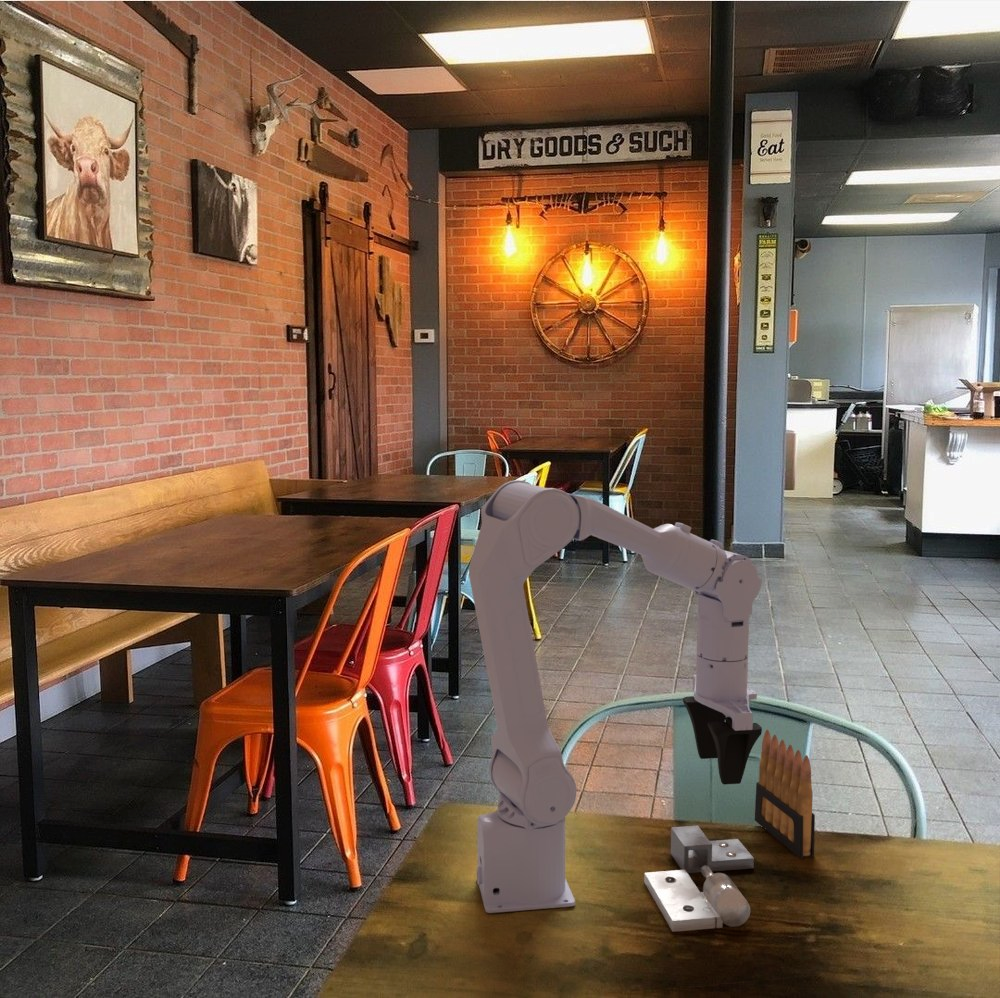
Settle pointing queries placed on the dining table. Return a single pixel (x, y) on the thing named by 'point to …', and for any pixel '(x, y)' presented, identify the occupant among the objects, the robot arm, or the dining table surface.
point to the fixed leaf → (697, 900)
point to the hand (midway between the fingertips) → (719, 769)
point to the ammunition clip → (785, 796)
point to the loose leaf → (707, 851)
